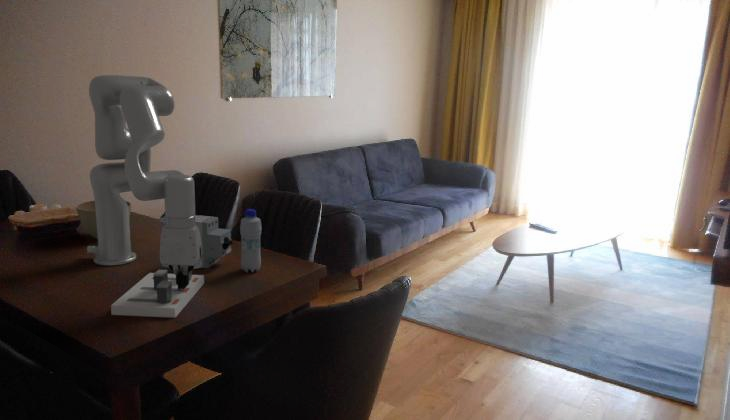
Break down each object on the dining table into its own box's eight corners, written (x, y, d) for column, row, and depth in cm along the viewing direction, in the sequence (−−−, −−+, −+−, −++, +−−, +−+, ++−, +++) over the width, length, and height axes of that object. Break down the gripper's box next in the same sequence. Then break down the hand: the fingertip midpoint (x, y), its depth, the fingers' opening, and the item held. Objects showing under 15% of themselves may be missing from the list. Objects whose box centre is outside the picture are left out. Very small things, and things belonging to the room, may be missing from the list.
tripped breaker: (154, 290, 143) (153, 274, 142) (159, 285, 146) (158, 269, 145) (163, 290, 143) (162, 274, 142) (167, 285, 146) (167, 270, 145)
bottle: (238, 267, 171) (237, 207, 167) (259, 265, 174) (259, 206, 169) (242, 274, 165) (241, 212, 161) (263, 272, 168) (263, 211, 163)
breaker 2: (179, 280, 151) (178, 265, 150) (183, 275, 154) (183, 260, 153) (187, 280, 151) (187, 265, 150) (191, 276, 154) (191, 261, 153)
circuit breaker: (225, 270, 169) (225, 224, 165) (184, 265, 171) (183, 220, 168) (236, 263, 176) (235, 219, 172) (196, 258, 178) (195, 215, 175)
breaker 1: (157, 302, 135) (156, 285, 134) (162, 296, 138) (162, 280, 137) (166, 302, 135) (166, 286, 134) (172, 297, 138) (171, 281, 137)
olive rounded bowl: (68, 237, 195) (65, 205, 192) (113, 227, 210) (111, 197, 207) (97, 246, 186) (95, 213, 183) (143, 236, 201) (141, 204, 198)
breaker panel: (111, 314, 133) (110, 305, 133) (149, 280, 157) (149, 272, 156) (175, 317, 134) (174, 308, 133) (204, 283, 157) (203, 275, 156)
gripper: (146, 224, 137) (149, 291, 141) (204, 226, 137) (206, 293, 141) (157, 217, 144) (160, 281, 148) (212, 219, 144) (214, 283, 148)
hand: (182, 287), depth 144 cm, fingers closed
